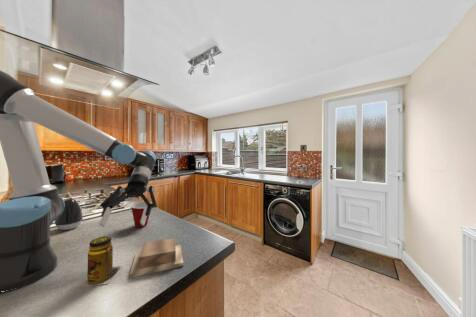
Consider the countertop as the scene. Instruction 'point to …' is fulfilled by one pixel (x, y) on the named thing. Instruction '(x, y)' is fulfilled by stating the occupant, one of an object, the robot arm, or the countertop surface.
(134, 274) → the base board
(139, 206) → the plastic cup
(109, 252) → the condiment
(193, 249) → the countertop surface
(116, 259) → the countertop surface
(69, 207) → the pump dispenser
